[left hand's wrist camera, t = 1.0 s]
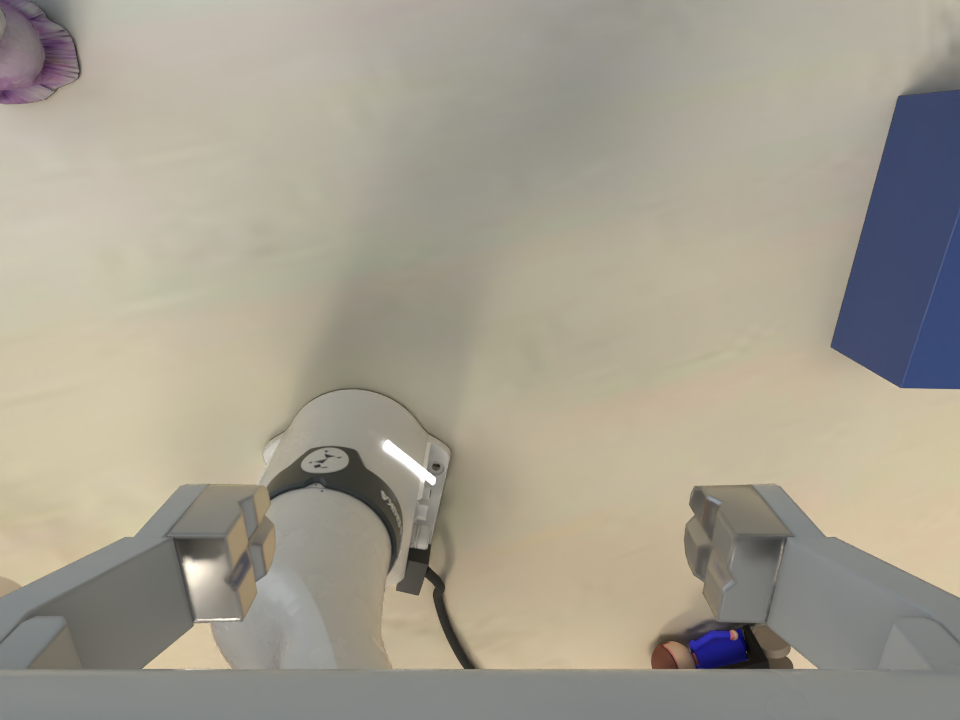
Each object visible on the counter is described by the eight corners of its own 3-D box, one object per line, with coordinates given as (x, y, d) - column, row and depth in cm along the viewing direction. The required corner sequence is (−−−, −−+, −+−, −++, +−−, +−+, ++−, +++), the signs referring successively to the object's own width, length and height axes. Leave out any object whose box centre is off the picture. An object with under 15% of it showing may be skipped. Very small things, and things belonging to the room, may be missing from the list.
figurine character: (761, 595, 65) (640, 633, 65) (803, 648, 58) (667, 691, 58) (766, 636, 67) (649, 672, 67) (807, 691, 60) (677, 733, 60)
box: (892, 348, 52) (975, 389, 44) (830, 347, 52) (900, 388, 43) (971, 97, 44) (1092, 87, 36) (898, 96, 44) (1000, 85, 36)
